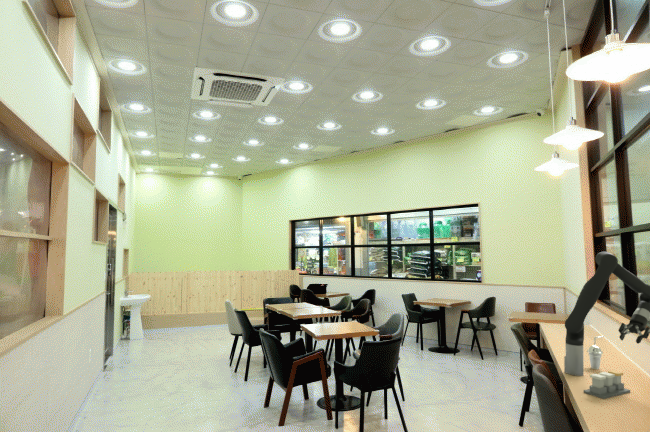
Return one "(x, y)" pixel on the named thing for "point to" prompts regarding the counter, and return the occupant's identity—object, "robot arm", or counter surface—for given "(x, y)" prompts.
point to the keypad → (607, 391)
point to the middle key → (608, 378)
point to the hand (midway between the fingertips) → (629, 341)
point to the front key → (597, 380)
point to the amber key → (616, 376)
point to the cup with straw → (595, 355)
